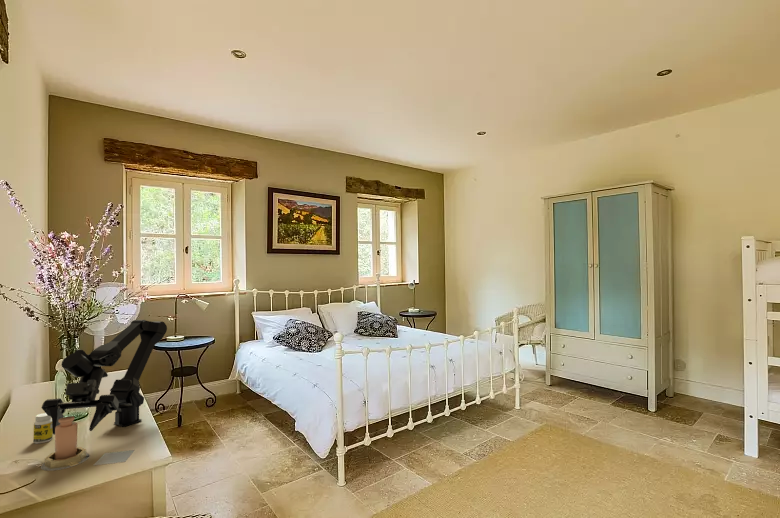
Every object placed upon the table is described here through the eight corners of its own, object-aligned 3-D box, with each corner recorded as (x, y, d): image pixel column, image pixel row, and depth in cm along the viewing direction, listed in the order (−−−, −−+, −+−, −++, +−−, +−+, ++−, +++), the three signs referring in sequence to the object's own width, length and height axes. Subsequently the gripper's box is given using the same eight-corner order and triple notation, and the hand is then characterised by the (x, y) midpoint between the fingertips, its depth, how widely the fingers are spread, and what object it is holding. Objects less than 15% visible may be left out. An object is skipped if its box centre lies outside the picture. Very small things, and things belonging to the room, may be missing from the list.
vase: (72, 455, 121) (72, 414, 121) (80, 459, 119) (80, 417, 119) (51, 462, 117) (52, 419, 117) (59, 466, 114) (60, 422, 115)
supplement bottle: (30, 445, 130) (31, 418, 130) (36, 439, 134) (36, 413, 135) (49, 442, 132) (50, 415, 132) (54, 436, 136) (55, 411, 137)
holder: (78, 451, 125) (78, 442, 125) (97, 459, 120) (97, 450, 120) (33, 466, 115) (33, 457, 115) (51, 476, 110) (51, 466, 110)
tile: (104, 455, 122) (104, 453, 122) (135, 451, 124) (135, 449, 124) (92, 467, 115) (92, 465, 115) (125, 463, 117) (125, 461, 117)
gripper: (44, 372, 124) (22, 423, 113) (115, 368, 129) (100, 416, 118) (58, 391, 131) (38, 440, 121) (124, 386, 136) (111, 433, 125)
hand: (72, 432), depth 121 cm, fingers open, 9 cm apart
